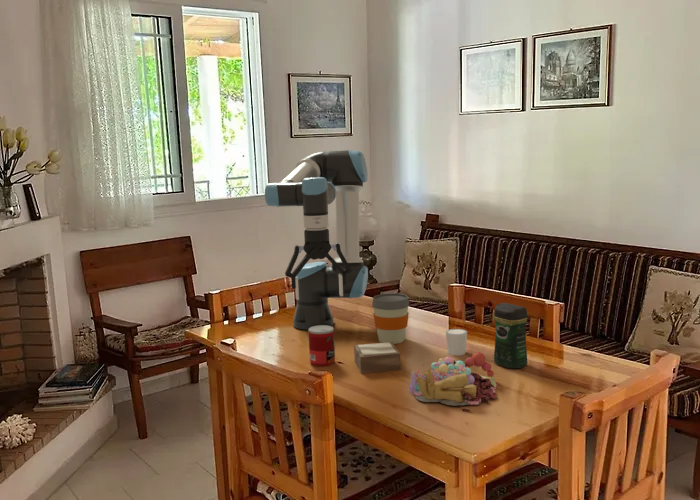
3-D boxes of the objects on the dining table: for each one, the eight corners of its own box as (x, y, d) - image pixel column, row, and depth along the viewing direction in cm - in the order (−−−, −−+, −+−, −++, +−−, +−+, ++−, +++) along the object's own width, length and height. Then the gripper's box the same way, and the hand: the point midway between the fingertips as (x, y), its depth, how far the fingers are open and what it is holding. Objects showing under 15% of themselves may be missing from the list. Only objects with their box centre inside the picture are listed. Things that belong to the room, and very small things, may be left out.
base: (354, 360, 215) (353, 344, 214) (391, 357, 217) (391, 341, 216) (361, 373, 203) (360, 356, 202) (400, 369, 205) (400, 352, 204)
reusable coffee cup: (391, 347, 226) (390, 303, 224) (365, 340, 236) (364, 297, 233) (417, 339, 234) (416, 296, 232) (391, 332, 244) (390, 291, 241)
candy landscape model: (499, 410, 174) (499, 375, 172) (406, 407, 178) (406, 373, 176) (495, 376, 198) (494, 345, 197) (413, 374, 202) (412, 344, 200)
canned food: (332, 366, 210) (330, 332, 208) (307, 366, 212) (305, 331, 210) (337, 358, 217) (336, 325, 216) (313, 358, 219) (311, 324, 217)
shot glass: (470, 350, 221) (469, 329, 220) (464, 357, 215) (464, 335, 213) (449, 348, 224) (449, 327, 222) (443, 354, 217) (442, 333, 216)
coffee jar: (531, 365, 205) (532, 305, 201) (513, 371, 200) (513, 309, 197) (507, 357, 212) (507, 299, 209) (489, 363, 208) (489, 303, 205)
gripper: (275, 232, 202) (279, 302, 205) (359, 227, 206) (361, 296, 209) (274, 229, 209) (278, 297, 213) (354, 224, 213) (357, 291, 216)
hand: (319, 297), depth 211 cm, fingers open, 13 cm apart
